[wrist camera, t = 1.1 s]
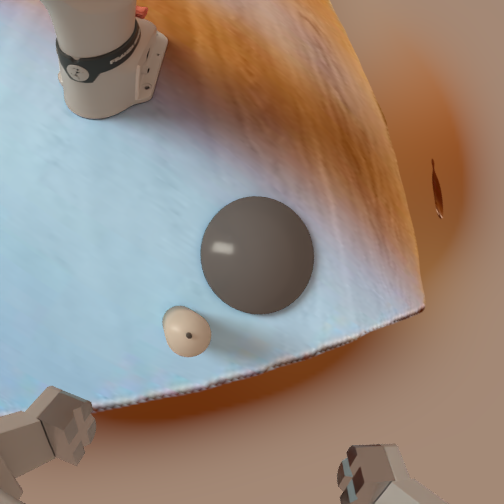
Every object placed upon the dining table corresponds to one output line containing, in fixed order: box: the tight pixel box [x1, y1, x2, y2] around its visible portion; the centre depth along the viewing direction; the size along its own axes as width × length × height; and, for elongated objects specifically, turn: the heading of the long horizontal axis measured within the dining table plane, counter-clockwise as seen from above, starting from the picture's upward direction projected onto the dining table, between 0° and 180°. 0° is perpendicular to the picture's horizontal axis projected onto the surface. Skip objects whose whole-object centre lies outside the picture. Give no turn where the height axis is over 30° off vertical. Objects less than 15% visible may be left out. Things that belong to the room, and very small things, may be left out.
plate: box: [201, 196, 314, 314], centre depth 49 cm, size 18×18×1 cm
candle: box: [162, 306, 211, 357], centre depth 39 cm, size 5×5×13 cm
